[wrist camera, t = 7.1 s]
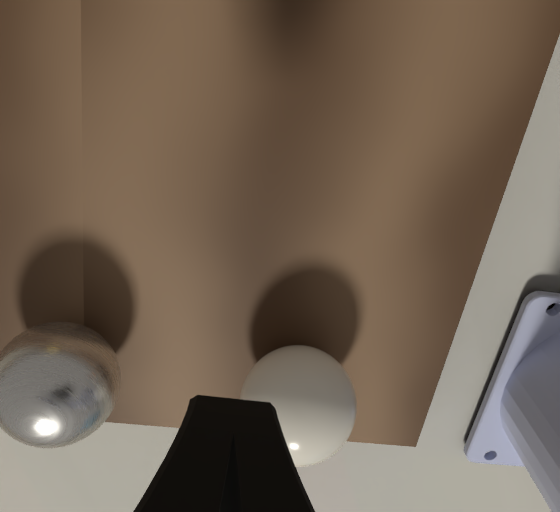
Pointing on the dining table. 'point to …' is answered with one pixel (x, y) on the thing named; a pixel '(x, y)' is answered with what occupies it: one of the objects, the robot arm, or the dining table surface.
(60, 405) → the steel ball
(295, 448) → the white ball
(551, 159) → the dining table surface
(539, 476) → the robot arm
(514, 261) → the dining table surface
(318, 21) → the hole plate
